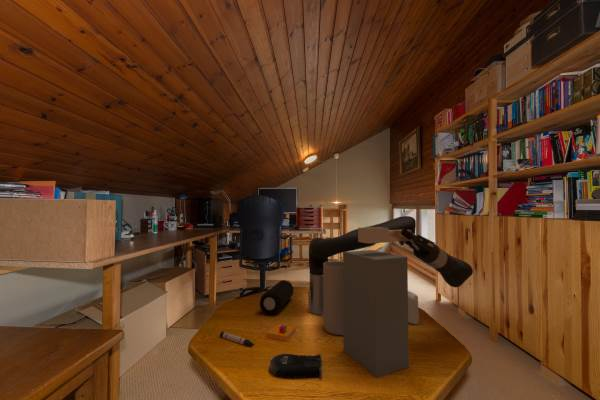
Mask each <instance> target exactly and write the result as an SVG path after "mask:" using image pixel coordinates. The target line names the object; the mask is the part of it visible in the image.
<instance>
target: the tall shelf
mask: <svg viewBox="0 0 600 400" xmlns="http://www.w3.org/2000/svg"><path fill="white" fill-rule="evenodd" d="M342 254H343V257H342V258H343V260H342V261H343V335H342V336H343V338H342V339H343V340H342V341H343V342H342V343H343V351H344V352H345V353H347V354H348V355H349V356H350V357H351V358H353V360H355V361H356V362H357V363H358V364H360V365H361V366H362V367H363V368H364V369H366V370H367V371H368V372H369V373H370V374H372V375H373V376H374V377H375V378H380V377H382V376H386V375H389V374H392V373H394V372H399V371H403V370H405V369H408V368H410V366H409V365H410V360H409V359H410V354H409V353H410V351H409V345H410V344H409V343H410V342H409V323H408V291H409V289H408V288H409V285H408V282H409V281H408V274H409V272H408V267H409V266H408V256H404V255H399V254H393V253H388V252H383V251H379V250H373V249H367V250H352V251H346V252H342Z"/></svg>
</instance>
